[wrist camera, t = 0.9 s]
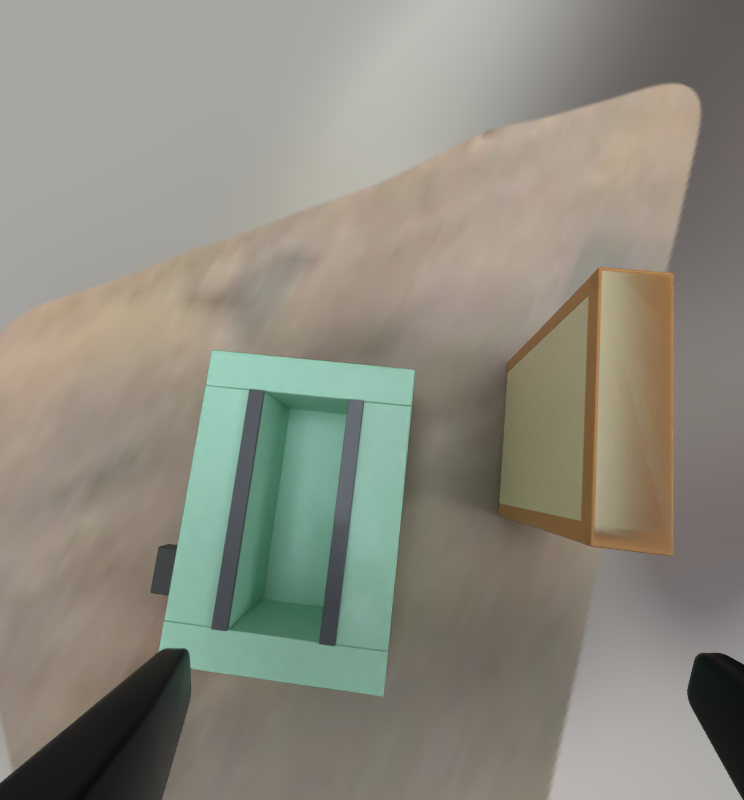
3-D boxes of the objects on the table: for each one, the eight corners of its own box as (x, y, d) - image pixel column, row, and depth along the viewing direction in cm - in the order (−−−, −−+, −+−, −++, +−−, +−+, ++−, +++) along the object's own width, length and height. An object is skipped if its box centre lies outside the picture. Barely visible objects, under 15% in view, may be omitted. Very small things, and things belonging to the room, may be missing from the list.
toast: (541, 520, 22) (674, 556, 11) (497, 515, 22) (590, 546, 12) (548, 365, 23) (674, 272, 13) (507, 362, 23) (598, 266, 13)
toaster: (386, 646, 21) (383, 699, 16) (185, 619, 22) (121, 661, 17) (411, 393, 23) (415, 368, 18) (226, 374, 24) (180, 345, 19)
